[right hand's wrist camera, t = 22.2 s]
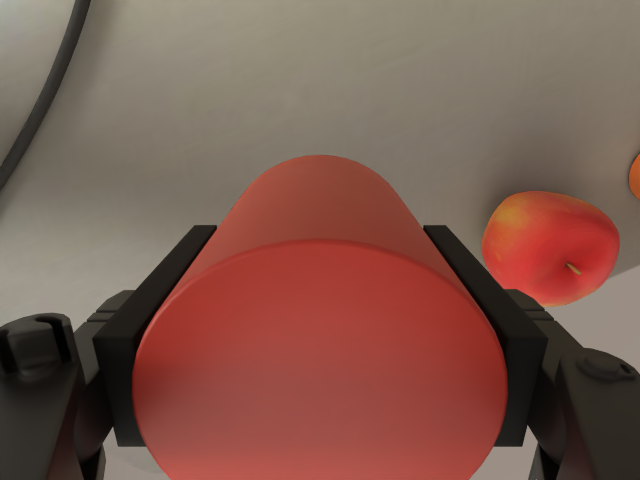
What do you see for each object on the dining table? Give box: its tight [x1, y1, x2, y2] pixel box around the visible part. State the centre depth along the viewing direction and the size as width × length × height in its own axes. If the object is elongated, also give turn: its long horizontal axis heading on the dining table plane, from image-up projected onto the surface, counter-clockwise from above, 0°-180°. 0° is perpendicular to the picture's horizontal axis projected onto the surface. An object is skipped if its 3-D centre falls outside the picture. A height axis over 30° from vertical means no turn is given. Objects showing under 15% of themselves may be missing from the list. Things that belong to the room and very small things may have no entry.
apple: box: [481, 191, 620, 307], centre depth 33 cm, size 10×10×10 cm
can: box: [132, 155, 508, 480], centre depth 11 cm, size 7×7×8 cm
